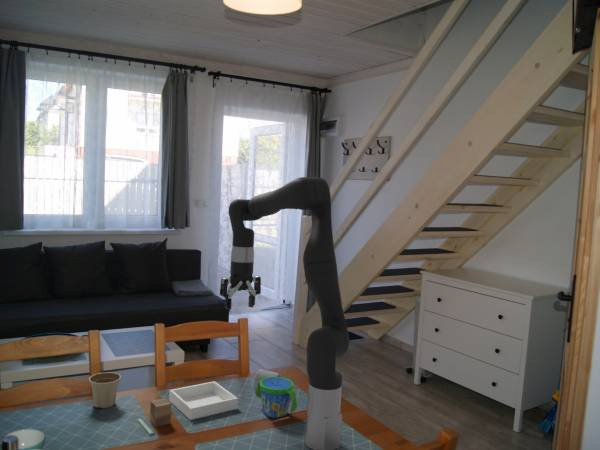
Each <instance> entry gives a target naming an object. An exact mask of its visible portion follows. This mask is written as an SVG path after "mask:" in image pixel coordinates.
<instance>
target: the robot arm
mask: <svg viewBox="0 0 600 450" xmlns="http://www.w3.org/2000/svg"><path fill="white" fill-rule="evenodd" d="M331 199H332V197H331V191H330V187H329V184H328V182H327V181H326V180H325V179H324V178H323V177H320V176H319V177H318V176H317V177H316V176H313V177H312V176H309V177H308V176H302V177H297V178H294V179H293V180H291V181H289V182H287V183H286V184H284V185H283V186H281V187H279V188H277V189H275V190H271V191H266V192H264V193H260V194H257V195H255V196H253V197H251V198H250V199H246V198H245V199H242V198H237V199H234V200H232V201H231V202H230V204H229V206H228V216H229V220H230V224H231V225H230V226H231V231H232V244H231V245H232V246H231V253H230V268H229V269H230V272H229V273H230V277H229V278H225V277H221V280H220V288H219V295H220V296H221V297H223V298H224V307H225V309H226V310H229V311H231V310H232V302H233V301H232V297H233V296H234V294H236V293H237V291H238V292H240V291H247V292H248V294H249V295H248V308H254V306H255V304H256V296H257V295H261V293H262V286H261V285H262V279H261V278H262V277H260V276H258V275H254V276H253V274H254V260H255V259H254V258H255V249H254V247H255V246H254V244H255V231H254V230H253V229H252V228H250V227H249V228H248V227H246V226H245V223H244V222H246V221H247V222H252V221H253V222H254V221H258V220H260V219H262V218H263V217H268V216H273V215H275V214H277V213H279V212H280V211H283V210H286V209H287V210H301V211H310V216H311V229H310V235H309V237H308V240H307V242H306V246H305V248H304V251H303V256H302V262H303V271H304V277H305V282H306V285H307V287H308V289H309V291H310V292H311V295H312V296H313V297H314V300H315V301H316V303H317V305H318V309H319V312H320V318H321V327H320V328H317V329H314V330H313V331H312V332H311V333H310V335H309V336H308V339H307V343H306V373H307V375H308V390H307V407H306V423H305V439H304V440H305V441H304V442H305V446H307V447H308V448H309V449H310V450H336V449H340V448H341V443H342V442H341V440H342V427H343V426H342V425H343V414H342V413H341V403H342V401H341V400H342V389H343V375H342V374H341V372H339V371H338V370H336V362H337V361H336V359H339V358H341V357H343V356H344V355H345V354H347V353H348V351H349V348H350V335H349V330H348V327H347V322H346V321H347V320H346V319H345V314H344V310H343V303H342V297H341V296H342V295H341V289H340V283H339V275H338V274H339V273H338V265H337V264H338V263H337V258H336V253H335V245H334V236H333V225H332V200H331ZM252 283H253V286H252Z"/></svg>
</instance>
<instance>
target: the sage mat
mask: <svg viewBox="0 0 600 450" xmlns="http://www.w3.org/2000/svg"><path fill="white" fill-rule="evenodd" d="M137 422H138V424H139V425H141V427H142V428H143V429H144V431H145V432H146V433H147V434H148V435H149V436H154V435H155V433H154V432H153V430H152V429H151V428H150V427H149V426H148V425H147V423H146V422H144V420H143V419H142V418H137Z"/></svg>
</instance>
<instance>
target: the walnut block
mask: <svg viewBox="0 0 600 450" xmlns="http://www.w3.org/2000/svg"><path fill="white" fill-rule="evenodd" d="M149 410H150V411H149V421H150V423H151V424H152V425H153V426H154V427H155V428H158V427H161V426H165V425H170V424H171V422H172V420H171V419H172V403H171V402H170V401H169V399H167V398H165V397H164V398H159V399H154V400H150V409H149Z"/></svg>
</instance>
